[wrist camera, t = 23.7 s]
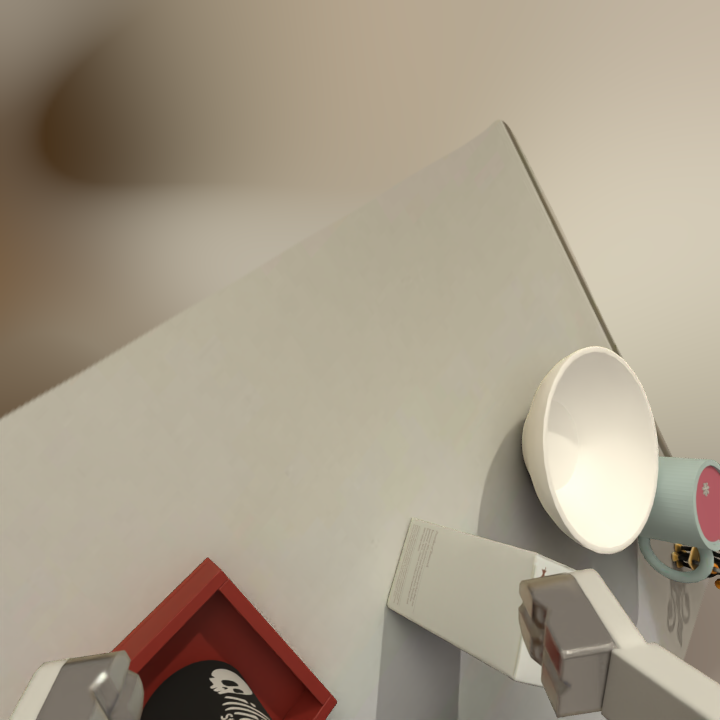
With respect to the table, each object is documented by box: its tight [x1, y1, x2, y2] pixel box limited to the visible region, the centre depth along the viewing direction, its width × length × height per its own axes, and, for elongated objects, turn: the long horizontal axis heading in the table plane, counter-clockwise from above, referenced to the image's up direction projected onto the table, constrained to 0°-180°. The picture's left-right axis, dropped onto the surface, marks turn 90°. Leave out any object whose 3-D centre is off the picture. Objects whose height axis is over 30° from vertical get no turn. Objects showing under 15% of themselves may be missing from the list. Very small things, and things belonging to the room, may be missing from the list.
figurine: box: [672, 543, 720, 589], centre depth 58 cm, size 5×5×8 cm
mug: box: [638, 457, 720, 583], centre depth 51 cm, size 14×9×10 cm
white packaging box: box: [387, 518, 577, 688], centre depth 34 cm, size 7×7×13 cm
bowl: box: [522, 346, 659, 554], centre depth 47 cm, size 20×20×7 cm
